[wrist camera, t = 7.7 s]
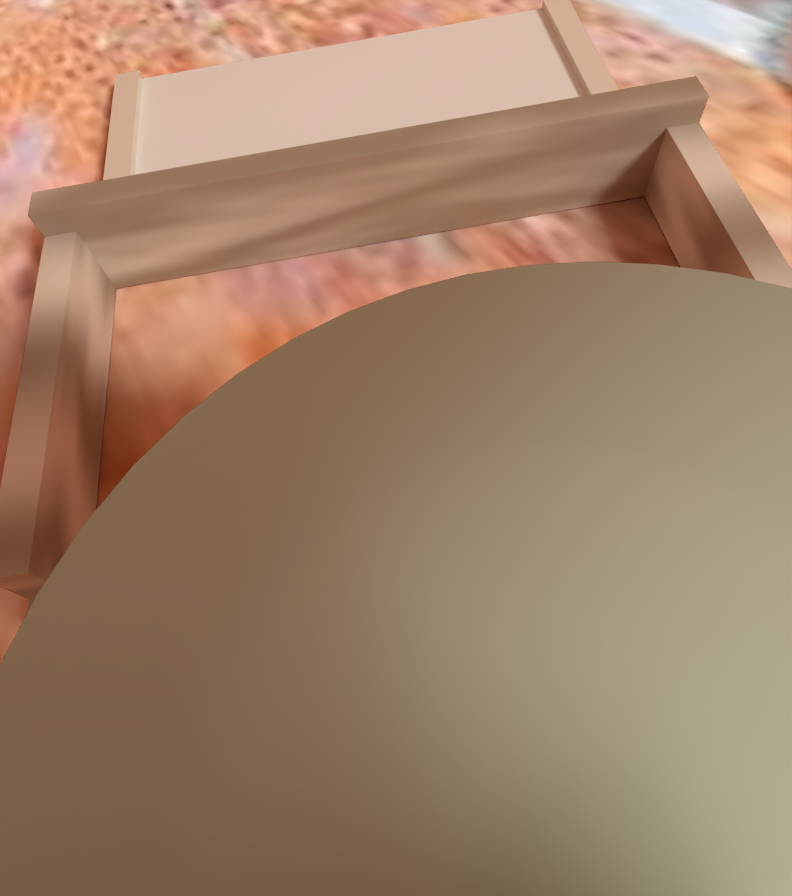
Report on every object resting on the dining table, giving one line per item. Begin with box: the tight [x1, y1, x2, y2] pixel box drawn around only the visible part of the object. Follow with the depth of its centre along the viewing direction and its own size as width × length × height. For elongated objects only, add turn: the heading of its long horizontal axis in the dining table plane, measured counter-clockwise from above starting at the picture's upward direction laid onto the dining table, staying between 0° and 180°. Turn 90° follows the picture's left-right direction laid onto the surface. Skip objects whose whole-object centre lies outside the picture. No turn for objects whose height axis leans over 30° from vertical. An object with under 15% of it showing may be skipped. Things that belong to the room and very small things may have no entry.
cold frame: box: [0, 76, 792, 611], centre depth 20 cm, size 15×24×4 cm, turn 99°
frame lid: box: [103, 0, 618, 180], centre depth 28 cm, size 12×23×1 cm, turn 99°
